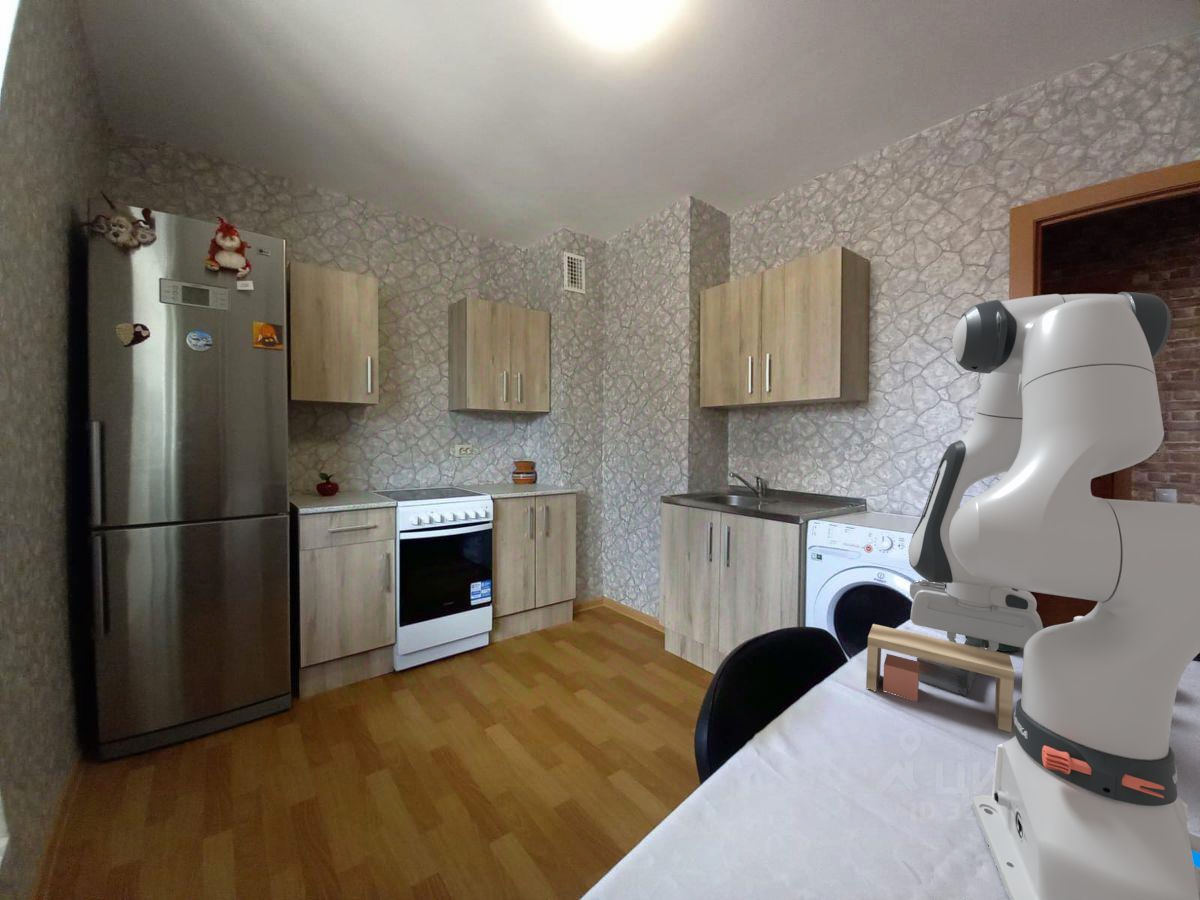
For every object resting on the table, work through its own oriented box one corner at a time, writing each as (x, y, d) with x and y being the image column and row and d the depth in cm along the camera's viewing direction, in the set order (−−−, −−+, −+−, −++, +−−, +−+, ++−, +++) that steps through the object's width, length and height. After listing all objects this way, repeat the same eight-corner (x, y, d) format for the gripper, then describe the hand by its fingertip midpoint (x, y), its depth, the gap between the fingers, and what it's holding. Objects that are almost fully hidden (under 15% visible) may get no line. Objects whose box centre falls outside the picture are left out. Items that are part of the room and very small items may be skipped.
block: (917, 702, 79) (918, 673, 79) (882, 692, 82) (883, 664, 82) (918, 689, 83) (919, 661, 83) (885, 679, 86) (886, 653, 86)
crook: (966, 696, 81) (967, 674, 81) (916, 679, 86) (917, 658, 86) (984, 654, 96) (985, 635, 95) (940, 642, 101) (941, 624, 101)
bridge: (1011, 732, 71) (1014, 672, 71) (866, 688, 83) (868, 636, 82) (1006, 710, 77) (1009, 654, 76) (871, 672, 89) (873, 623, 88)
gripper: (909, 581, 94) (906, 648, 94) (1048, 605, 82) (1044, 682, 82) (911, 573, 99) (908, 637, 100) (1042, 595, 87) (1038, 667, 87)
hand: (971, 657), depth 91 cm, fingers closed on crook, 3 cm apart
